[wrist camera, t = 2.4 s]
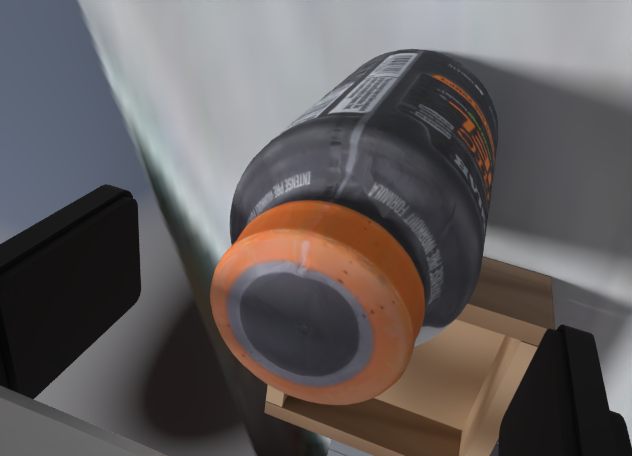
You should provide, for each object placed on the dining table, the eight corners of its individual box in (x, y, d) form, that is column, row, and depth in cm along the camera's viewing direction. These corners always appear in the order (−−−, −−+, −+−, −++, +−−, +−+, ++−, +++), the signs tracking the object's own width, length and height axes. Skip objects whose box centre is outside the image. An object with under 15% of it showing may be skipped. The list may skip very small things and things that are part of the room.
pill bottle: (516, 187, 18) (508, 454, 9) (363, 218, 21) (237, 447, 12) (474, 18, 16) (407, 142, 7) (310, 77, 19) (105, 222, 10)
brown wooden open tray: (313, 206, 22) (284, 245, 19) (551, 277, 19) (554, 331, 17) (289, 365, 27) (264, 412, 24) (475, 433, 25) (469, 493, 22)
